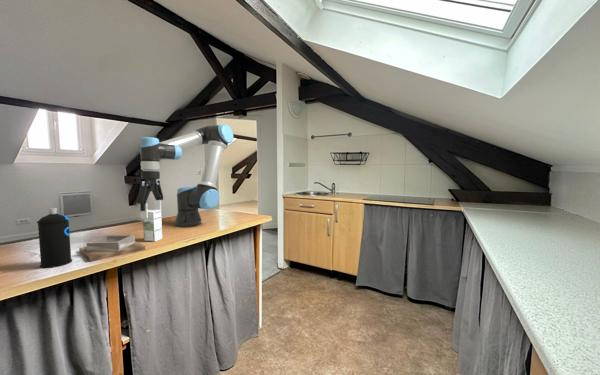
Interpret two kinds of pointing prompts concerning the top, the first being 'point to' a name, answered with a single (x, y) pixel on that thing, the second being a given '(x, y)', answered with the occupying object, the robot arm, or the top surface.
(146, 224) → the syrup box
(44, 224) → the aerosol can
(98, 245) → the socket holder
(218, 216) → the top surface
